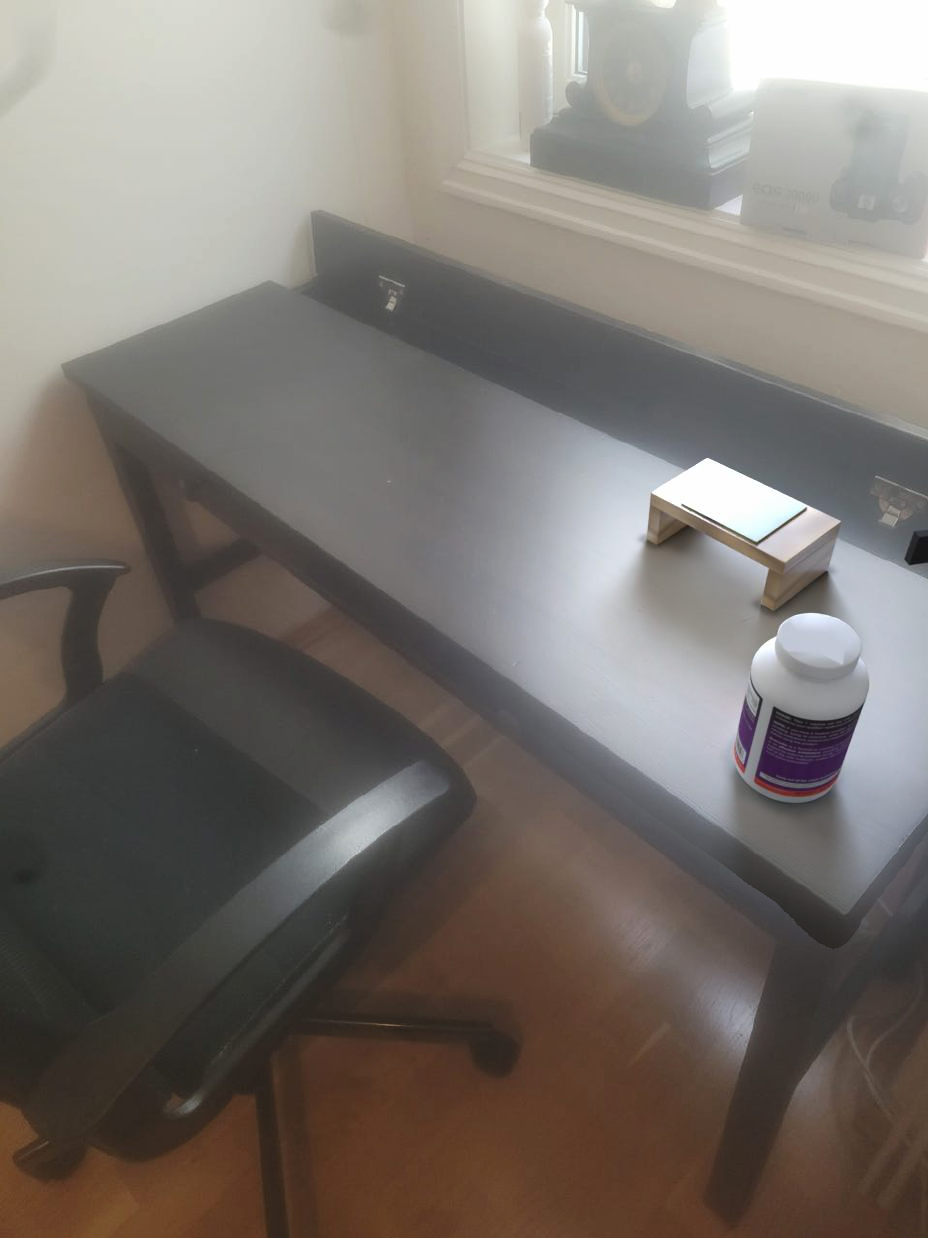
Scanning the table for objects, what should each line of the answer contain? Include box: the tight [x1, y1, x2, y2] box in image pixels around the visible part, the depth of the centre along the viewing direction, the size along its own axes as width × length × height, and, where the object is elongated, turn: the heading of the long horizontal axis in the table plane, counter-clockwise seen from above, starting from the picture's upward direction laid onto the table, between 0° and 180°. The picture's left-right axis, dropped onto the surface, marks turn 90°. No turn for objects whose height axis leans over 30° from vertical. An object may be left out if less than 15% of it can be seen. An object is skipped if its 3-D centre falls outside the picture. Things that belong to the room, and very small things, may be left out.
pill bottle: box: [732, 612, 870, 804], centre depth 65 cm, size 8×8×14 cm
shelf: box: [646, 457, 842, 612], centre depth 87 cm, size 16×9×6 cm, turn 40°
